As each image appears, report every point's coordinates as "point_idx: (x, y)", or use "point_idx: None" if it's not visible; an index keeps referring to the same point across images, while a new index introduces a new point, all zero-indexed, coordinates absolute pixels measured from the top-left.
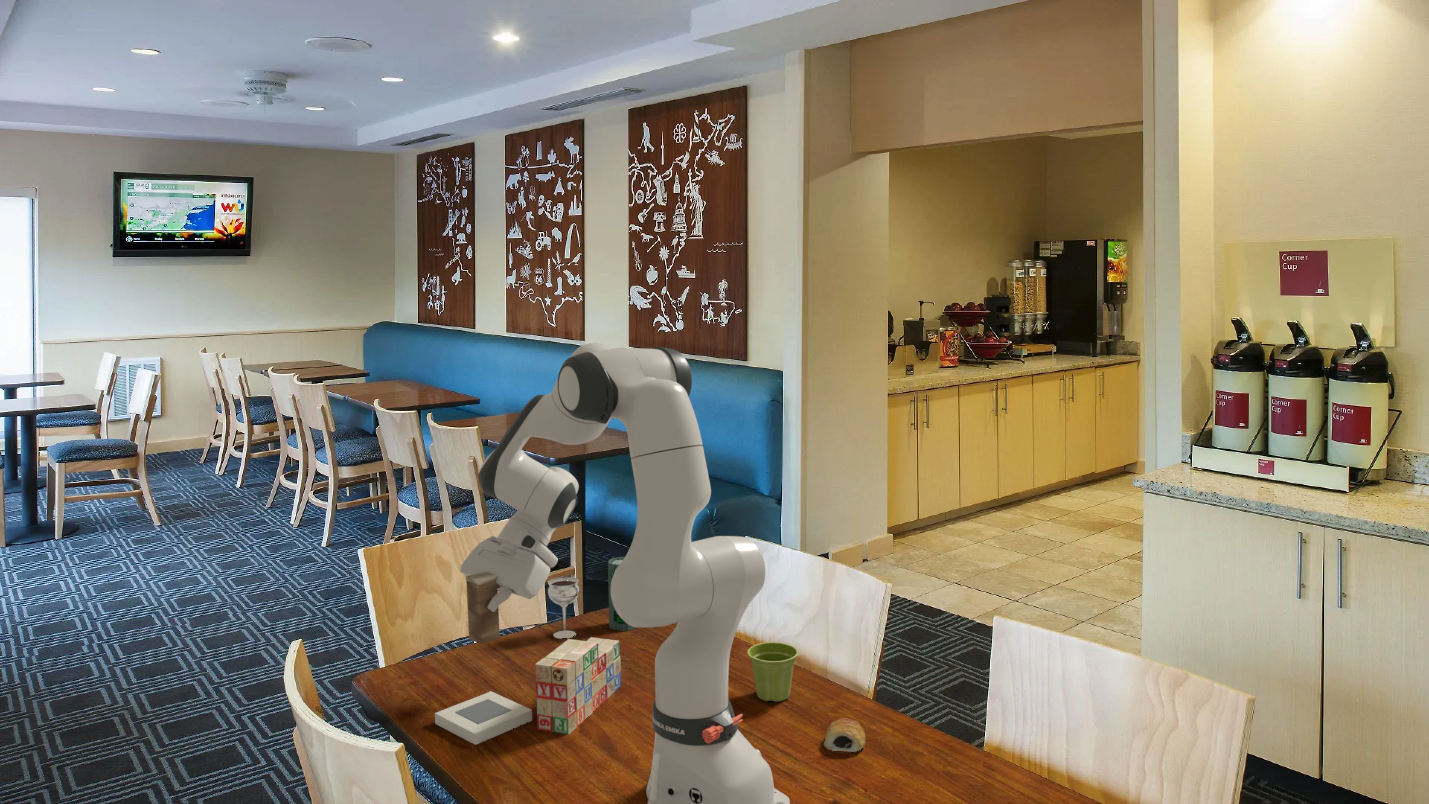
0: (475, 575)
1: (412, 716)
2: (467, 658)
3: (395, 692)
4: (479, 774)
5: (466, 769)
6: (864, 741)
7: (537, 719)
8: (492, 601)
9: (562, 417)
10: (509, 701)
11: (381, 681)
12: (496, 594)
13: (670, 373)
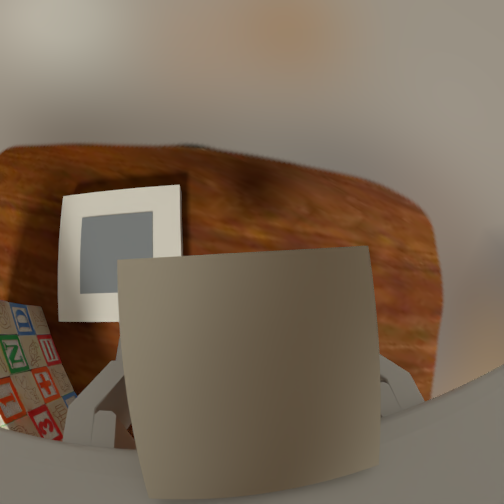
0: (327, 340)
1: (239, 181)
2: None
3: (351, 211)
4: (18, 169)
5: (36, 162)
6: None
7: (31, 305)
8: (118, 350)
9: None
10: (114, 316)
11: (402, 219)
12: (108, 388)
13: None
